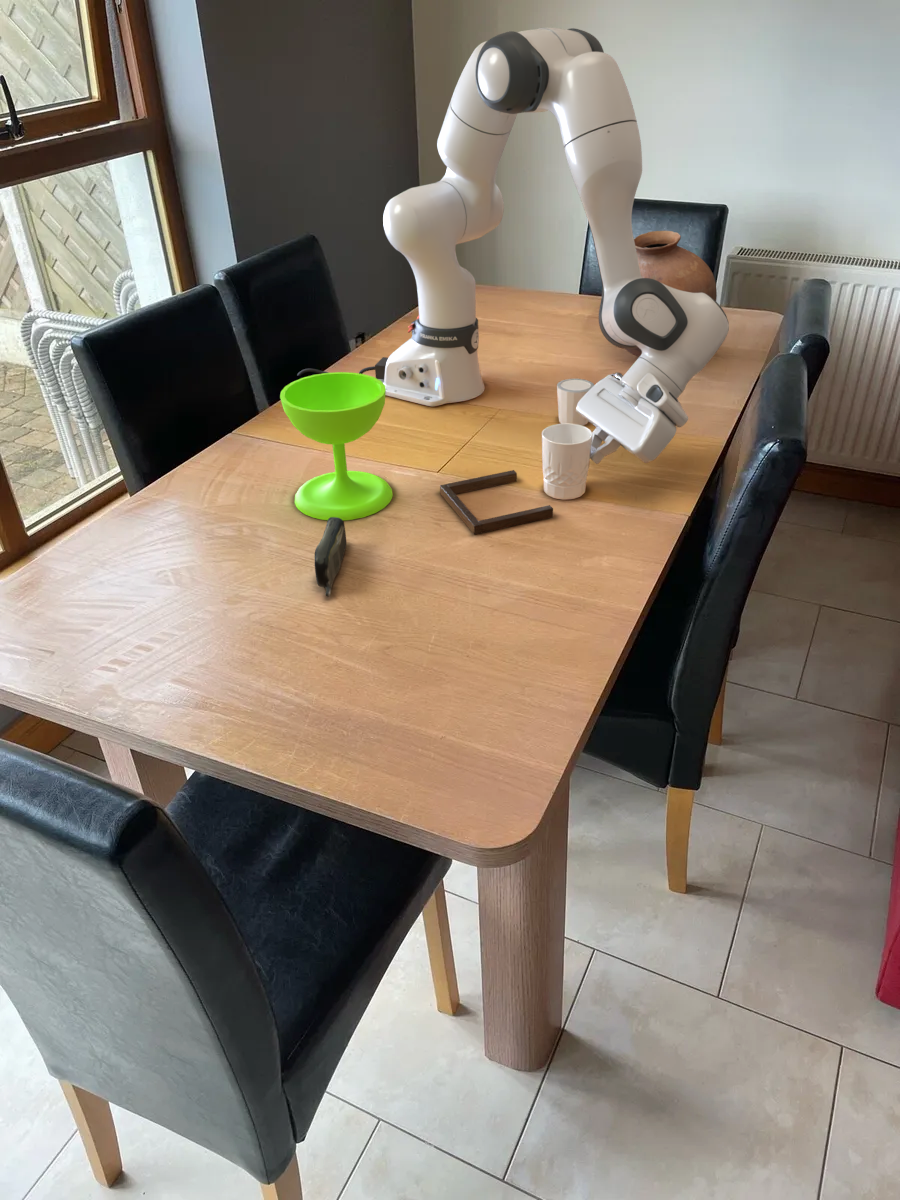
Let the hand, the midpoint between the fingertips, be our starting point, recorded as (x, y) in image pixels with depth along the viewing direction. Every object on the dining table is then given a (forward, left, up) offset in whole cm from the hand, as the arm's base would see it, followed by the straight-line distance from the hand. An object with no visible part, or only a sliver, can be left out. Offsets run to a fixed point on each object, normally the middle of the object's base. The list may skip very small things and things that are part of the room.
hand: (589, 458), depth 147 cm
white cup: (-3, -3, -5) cm, 7 cm away
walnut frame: (-11, -11, -5) cm, 17 cm away
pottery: (-4, +64, -5) cm, 65 cm away
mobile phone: (-27, -38, -5) cm, 47 cm away
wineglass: (-36, -18, -5) cm, 40 cm away
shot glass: (-10, +24, -5) cm, 27 cm away
